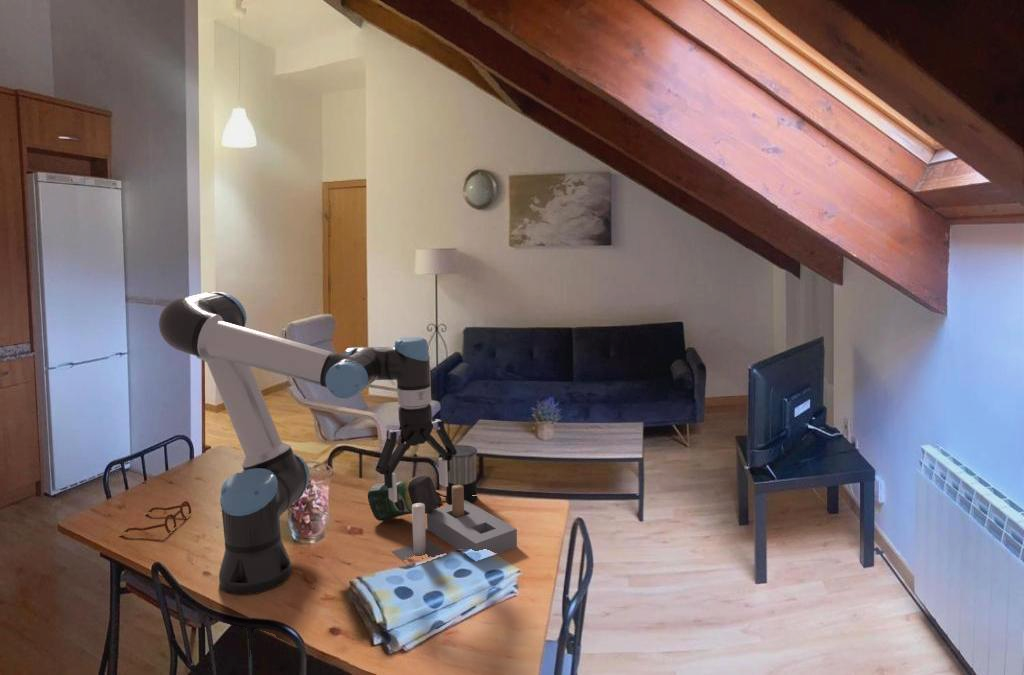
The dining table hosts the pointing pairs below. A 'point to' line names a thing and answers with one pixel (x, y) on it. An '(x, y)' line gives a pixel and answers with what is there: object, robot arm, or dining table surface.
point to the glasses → (166, 517)
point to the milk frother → (462, 473)
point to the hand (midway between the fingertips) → (419, 492)
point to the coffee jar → (402, 498)
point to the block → (470, 526)
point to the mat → (408, 552)
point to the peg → (419, 529)
